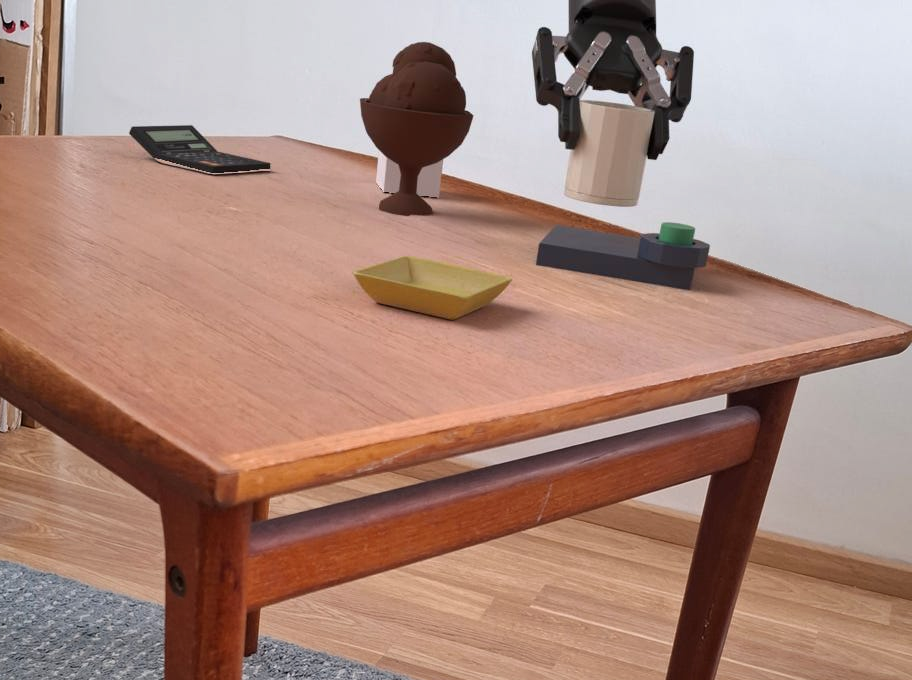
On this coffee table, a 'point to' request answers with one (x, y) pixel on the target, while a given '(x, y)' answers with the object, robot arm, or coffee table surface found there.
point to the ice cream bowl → (416, 119)
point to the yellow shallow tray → (430, 286)
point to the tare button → (676, 233)
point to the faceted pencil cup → (609, 154)
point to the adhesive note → (391, 177)
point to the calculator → (190, 149)
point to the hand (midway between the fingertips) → (614, 148)
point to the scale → (622, 256)
